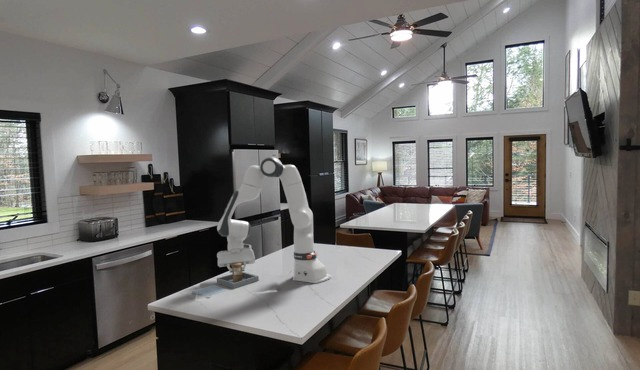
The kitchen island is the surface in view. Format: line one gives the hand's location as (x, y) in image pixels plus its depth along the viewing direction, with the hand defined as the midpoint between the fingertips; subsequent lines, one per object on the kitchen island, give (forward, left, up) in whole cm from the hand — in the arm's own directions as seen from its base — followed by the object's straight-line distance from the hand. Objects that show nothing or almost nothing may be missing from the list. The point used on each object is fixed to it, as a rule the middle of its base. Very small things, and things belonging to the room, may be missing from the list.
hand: (237, 271), depth 208 cm
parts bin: (+1, 0, -7) cm, 7 cm away
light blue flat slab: (+1, +17, -7) cm, 18 cm away
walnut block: (+1, 0, -6) cm, 6 cm away
